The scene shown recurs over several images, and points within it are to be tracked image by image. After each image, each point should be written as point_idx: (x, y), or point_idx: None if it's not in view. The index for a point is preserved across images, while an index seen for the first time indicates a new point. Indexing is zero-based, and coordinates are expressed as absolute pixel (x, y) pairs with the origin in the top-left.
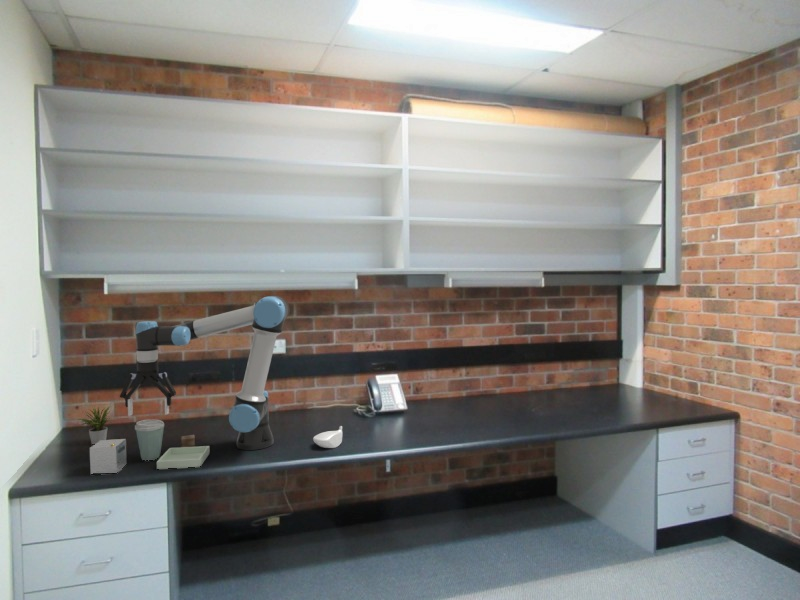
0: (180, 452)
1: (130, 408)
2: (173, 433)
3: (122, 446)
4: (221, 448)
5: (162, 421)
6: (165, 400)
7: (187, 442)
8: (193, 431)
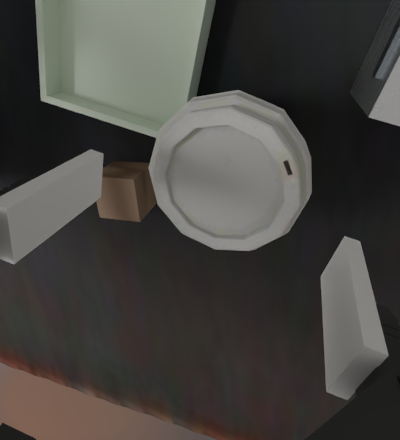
0: (147, 121)
1: (345, 281)
2: (195, 338)
3: (390, 56)
4: (35, 133)
5: (160, 206)
6: (16, 197)
7: (121, 172)
8: (144, 325)
